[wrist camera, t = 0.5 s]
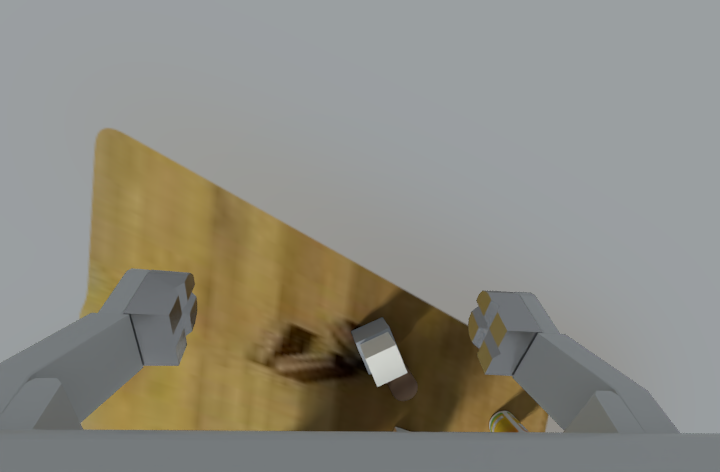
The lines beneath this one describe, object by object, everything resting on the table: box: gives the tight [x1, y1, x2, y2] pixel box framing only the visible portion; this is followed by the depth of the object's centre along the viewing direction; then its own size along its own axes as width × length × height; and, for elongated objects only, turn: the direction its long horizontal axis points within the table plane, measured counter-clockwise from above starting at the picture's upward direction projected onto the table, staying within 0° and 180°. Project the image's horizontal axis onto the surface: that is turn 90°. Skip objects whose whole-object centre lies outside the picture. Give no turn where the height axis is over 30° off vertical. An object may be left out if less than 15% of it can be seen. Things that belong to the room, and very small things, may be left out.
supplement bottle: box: [489, 411, 529, 432], centre depth 69 cm, size 5×5×10 cm
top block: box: [360, 332, 407, 387], centre depth 59 cm, size 5×5×5 cm
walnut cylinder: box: [387, 364, 418, 401], centre depth 66 cm, size 4×4×5 cm
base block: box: [351, 317, 402, 375], centre depth 64 cm, size 6×6×5 cm
